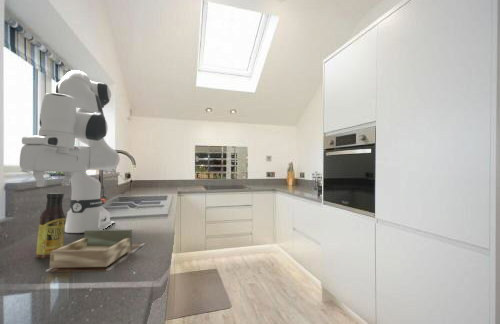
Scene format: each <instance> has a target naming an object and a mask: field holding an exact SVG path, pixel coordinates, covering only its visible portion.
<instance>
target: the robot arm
mask: <svg viewBox="0 0 500 324" xmlns="http://www.w3.org/2000/svg"><path fill="white" fill-rule="evenodd" d="M54 91H55V92H47V93H45V94H44V96H43V99H42V103H41V105H40V106H41V108H40V113H39V126H40V128H39V130H38V134H37V135H30V136H29V135H28V136H23V137H22V138H21V143H22V145H23V146H22V147H21V149H20V153H19V154H20V155H19V167H20V169H21V170H22V171H30V172H31V171H32V176H33V178H34V179H35V181H36V187H39V188H40V187H41V188H43V187H45V188H46V187H47V185H48V184H47V183H48V180H45V176H44V175H45V174H46V172H52V173H53V172H55V173H56V172H58V173H59V172H60V173H64V178H63V180H61V186H62V187H65V186H71V198H70V200H69V208H70V209H69V210H68V211H67V213H66V217H65V219H66V220H65V231H64V233H67V234H80V233H84V231H85V230H99V229H104V230H106V229H105V228H107V227H108V226H109V225H111V224H112V223H114V222H115V221H113V220H111V213H110V212H109V211H108V210H107V209H106V208H105V207H103V203H105V202H106V198H101V194H102V193H101V190H102V189H101V187H102V184H101V182H100V180H99V179H98V178H95V177H93V176H91V175H88V173H87V172H86V171H88V170H92V171H94V170H95V171H106V170H113V169H115V168H116V167H117V166H119V164H120V155H119V153H118V152H117V151H116V149H114V148H112V147H111V146H110V145H109V144H108V143H107V141H106V140H105V137H106V136H107V134H108V122H107V120H106V117H105V115H104V110H103V108H104V107H105V106H106V105H108V103H110V100H111V98H112V93H111V89H110V88H109V85H108V84H107V83H103V82H101V81H98V82H96V81H92V80H91V78H90V77H89V76H88V74H87V73H85V72H83V71H80V70H76V69H74V70H71V71H68V72H67V73H66V74H65V75H64V76H63V77H62V78H61V80H60V81H58V82H57V83H56V84H55V89H54ZM76 139H77V140H78V141H80V142H81V143H84V144H85V145H87V146H83V145H76ZM110 221H111V222H110ZM111 226H112V225H111ZM108 228H109V227H108ZM108 228H107V229H108Z"/></svg>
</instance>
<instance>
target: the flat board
mask: <svg viewBox="0 0 500 324" xmlns="http://www.w3.org/2000/svg"><path fill="white" fill-rule="evenodd" d="M145 245H146V242H142V243H132V244H131V250H129V251H128V253H127V254H124V255H122V256H121V257H119V258H118V259H117V260H115V261H114V262H112V263H111V264H110V266H109V267H108V268H103V267H62V268H49V267H48V269H45V271H44V272H45V273H53V272H54V273H57V272H58V273H59V272H61V273H62V272H65V273H66V272H111V271H112V270H113V269H114V268H115V267H117V266H119V265H120V264H121V263H123V262H124V261H125V260H126V259H128V258H129V257H131V256H132V255H133V254H134V253H135V252H137V251H138V250H140V249H141V248H142V247H144V246H145Z"/></svg>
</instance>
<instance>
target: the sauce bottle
mask: <svg viewBox="0 0 500 324" xmlns="http://www.w3.org/2000/svg"><path fill="white" fill-rule="evenodd" d="M64 195H65V194H64V193H63V192H47V193H46V205H45V209H44V210H43V212H42V213H41V214H40V217H39V224H38V231H37V239H36V249H35V254H36V255H35V258H36V259H46V258H48V259H49V258H50V252H51V251H53V250H56V249H58V248H60V247H63V246H64V239H65V224H66V216H65V212H64V210H63V198H64Z"/></svg>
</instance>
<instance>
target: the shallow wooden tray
mask: <svg viewBox="0 0 500 324" xmlns="http://www.w3.org/2000/svg"><path fill="white" fill-rule="evenodd" d="M83 233H84V234H83V235H84V237H83V238H81V239H77V240H75V241H73V242H70V243H68V244H66V245H63V247H60V248H58V249H56V250H53V251H51V252H50V257H49V267H48V269H49V268H62V267H103V268H108V267H109V266H110V264H111V263H112V262H114V261H115V260H117V259H118V258H119V257H121V256H122V255H124V254H127V253H128V251H129V250H131V244H133V242H132V241H133V229H104V230H85V231H84V232H83Z"/></svg>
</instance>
